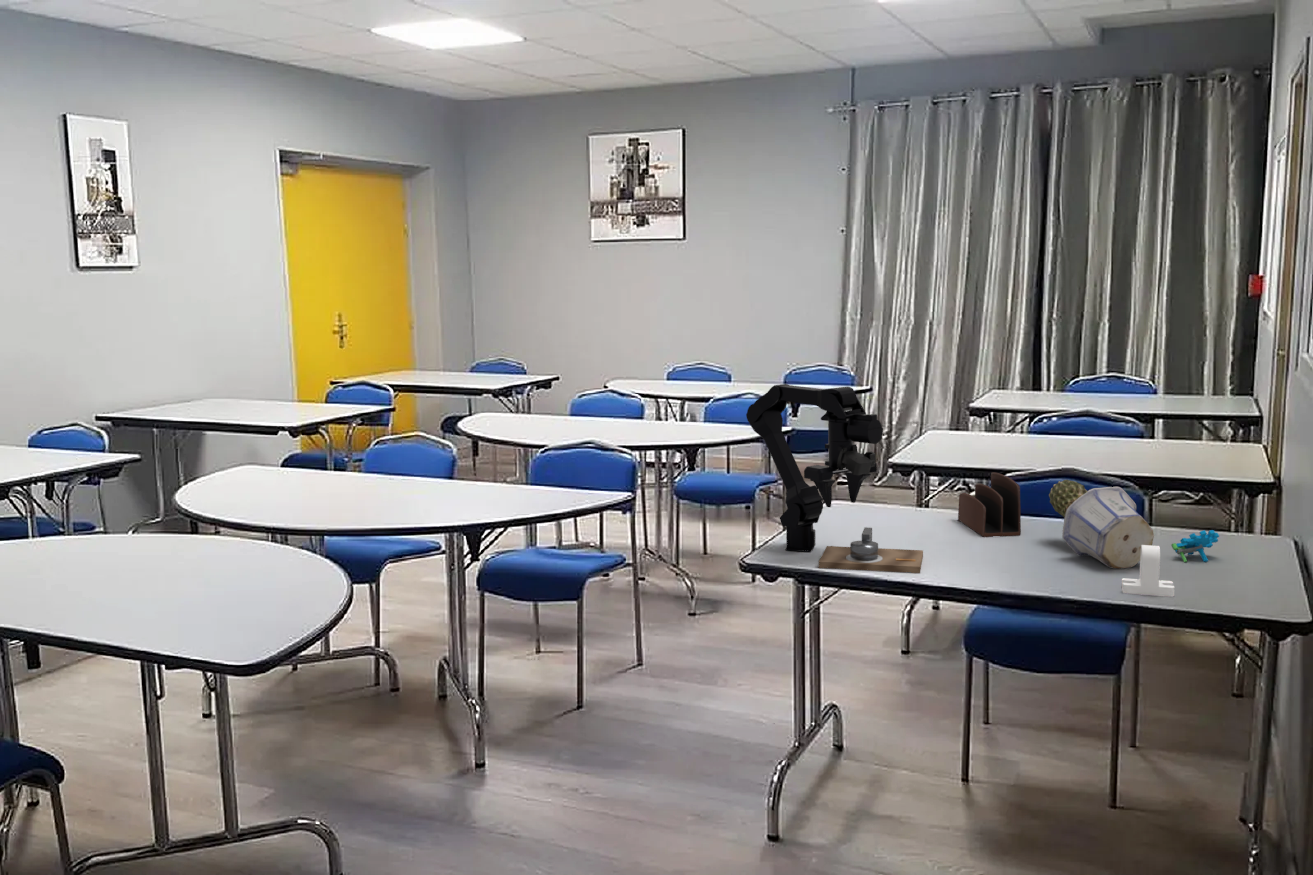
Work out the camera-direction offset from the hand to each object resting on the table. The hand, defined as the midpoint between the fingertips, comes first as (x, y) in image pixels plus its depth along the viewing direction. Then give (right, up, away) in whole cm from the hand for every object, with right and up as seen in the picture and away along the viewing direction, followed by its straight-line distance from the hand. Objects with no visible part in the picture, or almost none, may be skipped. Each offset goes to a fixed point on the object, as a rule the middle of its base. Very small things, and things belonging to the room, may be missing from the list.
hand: (840, 504), depth 263 cm
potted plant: (+60, -12, -1) cm, 61 cm away
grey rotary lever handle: (+6, -11, -2) cm, 13 cm away
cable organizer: (+60, -17, -31) cm, 69 cm away
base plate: (+7, -13, -3) cm, 15 cm away
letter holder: (+44, -8, +29) cm, 53 cm away
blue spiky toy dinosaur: (+81, -13, -6) cm, 82 cm away
